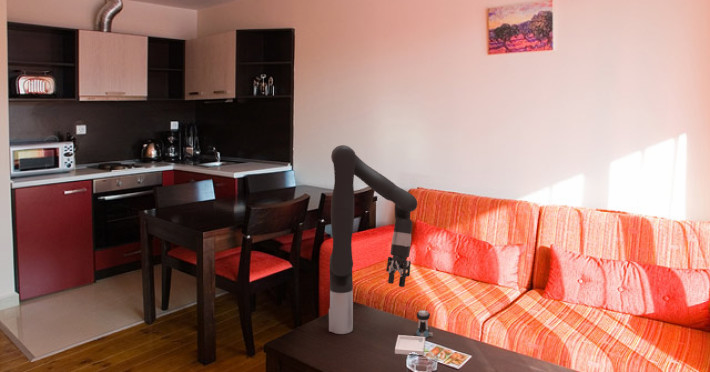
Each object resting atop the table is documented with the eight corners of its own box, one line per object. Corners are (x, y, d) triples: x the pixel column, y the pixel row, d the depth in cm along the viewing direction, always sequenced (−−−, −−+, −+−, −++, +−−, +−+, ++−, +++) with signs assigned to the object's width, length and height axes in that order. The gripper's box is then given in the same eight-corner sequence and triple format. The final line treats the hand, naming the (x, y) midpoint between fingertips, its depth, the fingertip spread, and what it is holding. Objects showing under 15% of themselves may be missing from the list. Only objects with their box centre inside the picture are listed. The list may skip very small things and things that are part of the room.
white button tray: (394, 353, 199) (394, 349, 199) (398, 339, 211) (398, 334, 211) (423, 355, 197) (423, 351, 197) (425, 341, 209) (425, 337, 209)
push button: (434, 334, 216) (434, 310, 214) (431, 340, 211) (431, 315, 209) (417, 332, 218) (418, 308, 216) (414, 337, 213) (415, 313, 211)
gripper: (384, 241, 219) (379, 281, 218) (402, 244, 206) (396, 287, 205) (400, 243, 222) (395, 283, 221) (418, 246, 209) (413, 288, 208)
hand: (396, 285), depth 213 cm, fingers open, 8 cm apart
